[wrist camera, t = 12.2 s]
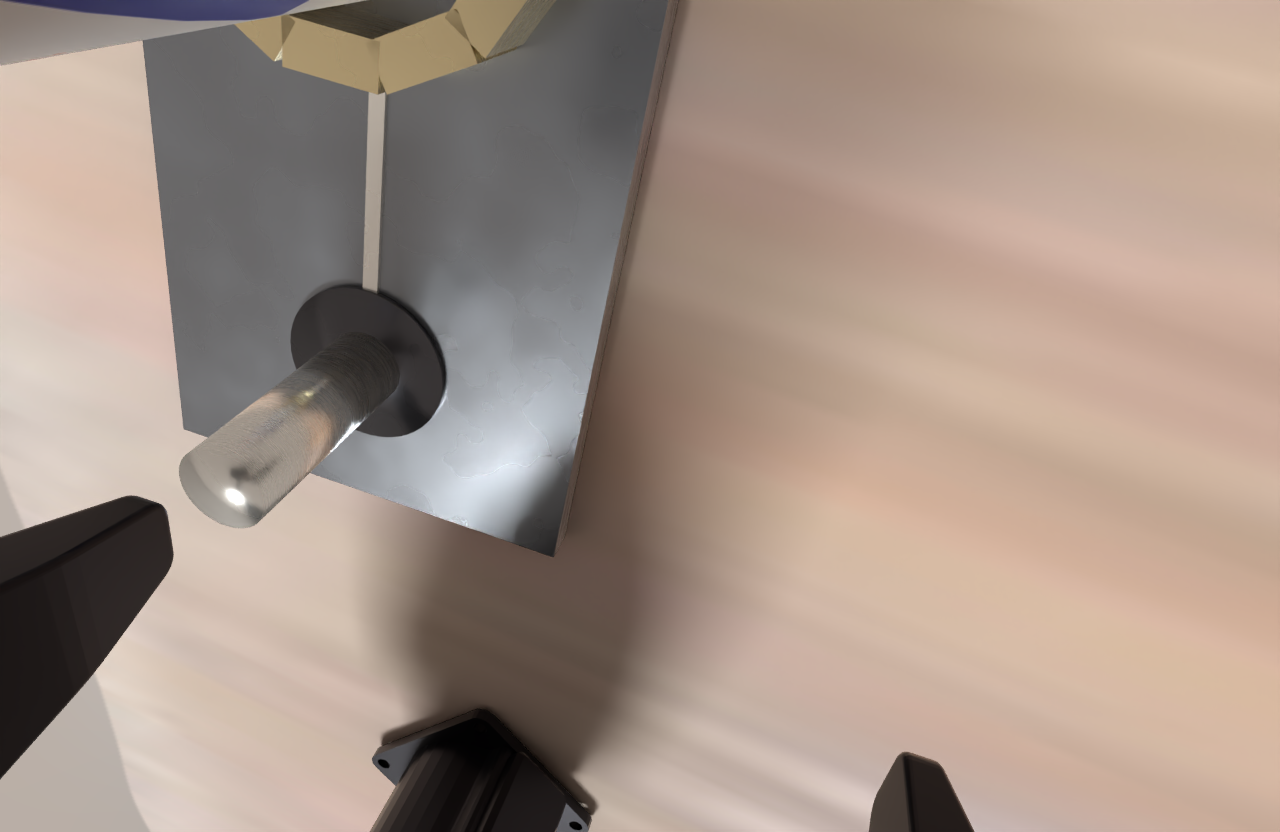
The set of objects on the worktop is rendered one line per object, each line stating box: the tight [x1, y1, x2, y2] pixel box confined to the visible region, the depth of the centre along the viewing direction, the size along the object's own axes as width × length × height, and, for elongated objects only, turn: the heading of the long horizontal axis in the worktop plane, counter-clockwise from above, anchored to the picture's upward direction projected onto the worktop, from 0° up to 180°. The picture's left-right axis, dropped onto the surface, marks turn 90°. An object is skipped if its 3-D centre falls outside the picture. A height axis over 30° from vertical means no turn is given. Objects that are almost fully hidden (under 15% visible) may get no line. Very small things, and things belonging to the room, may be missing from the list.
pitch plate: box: [143, 0, 679, 557], centre depth 18 cm, size 21×12×7 cm, turn 168°
